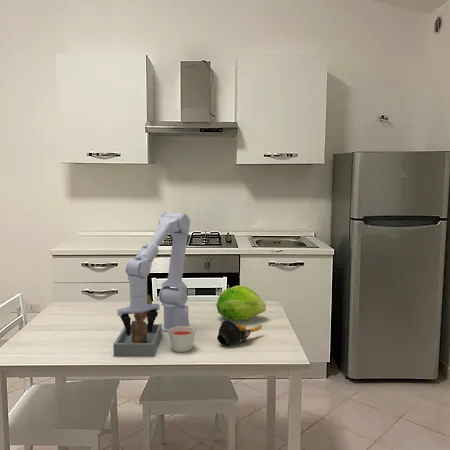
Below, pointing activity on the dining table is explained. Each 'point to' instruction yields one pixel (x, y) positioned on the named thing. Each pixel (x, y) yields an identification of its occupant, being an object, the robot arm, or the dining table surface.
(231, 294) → the green papaya
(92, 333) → the dining table surface
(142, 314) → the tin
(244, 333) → the fried shrimp in bowl
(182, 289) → the robot arm
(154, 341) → the bin
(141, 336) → the block
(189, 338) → the candle
